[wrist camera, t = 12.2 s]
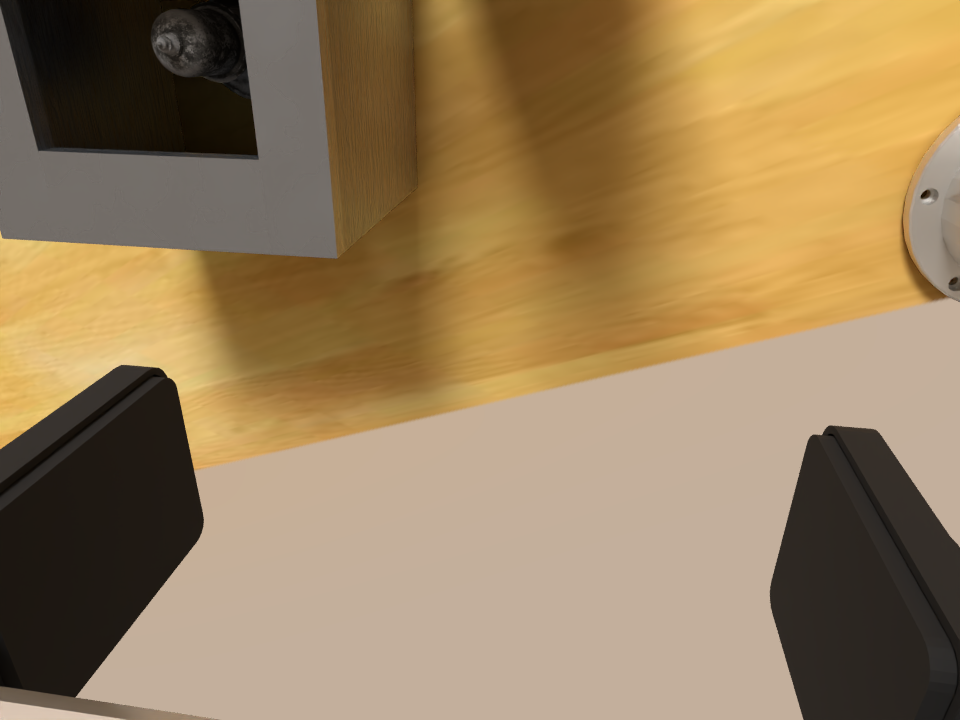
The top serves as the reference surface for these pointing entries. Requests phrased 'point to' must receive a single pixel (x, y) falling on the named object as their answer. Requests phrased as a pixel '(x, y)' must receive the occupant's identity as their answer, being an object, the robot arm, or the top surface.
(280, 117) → the grey hollow block
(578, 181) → the top surface
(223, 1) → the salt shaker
